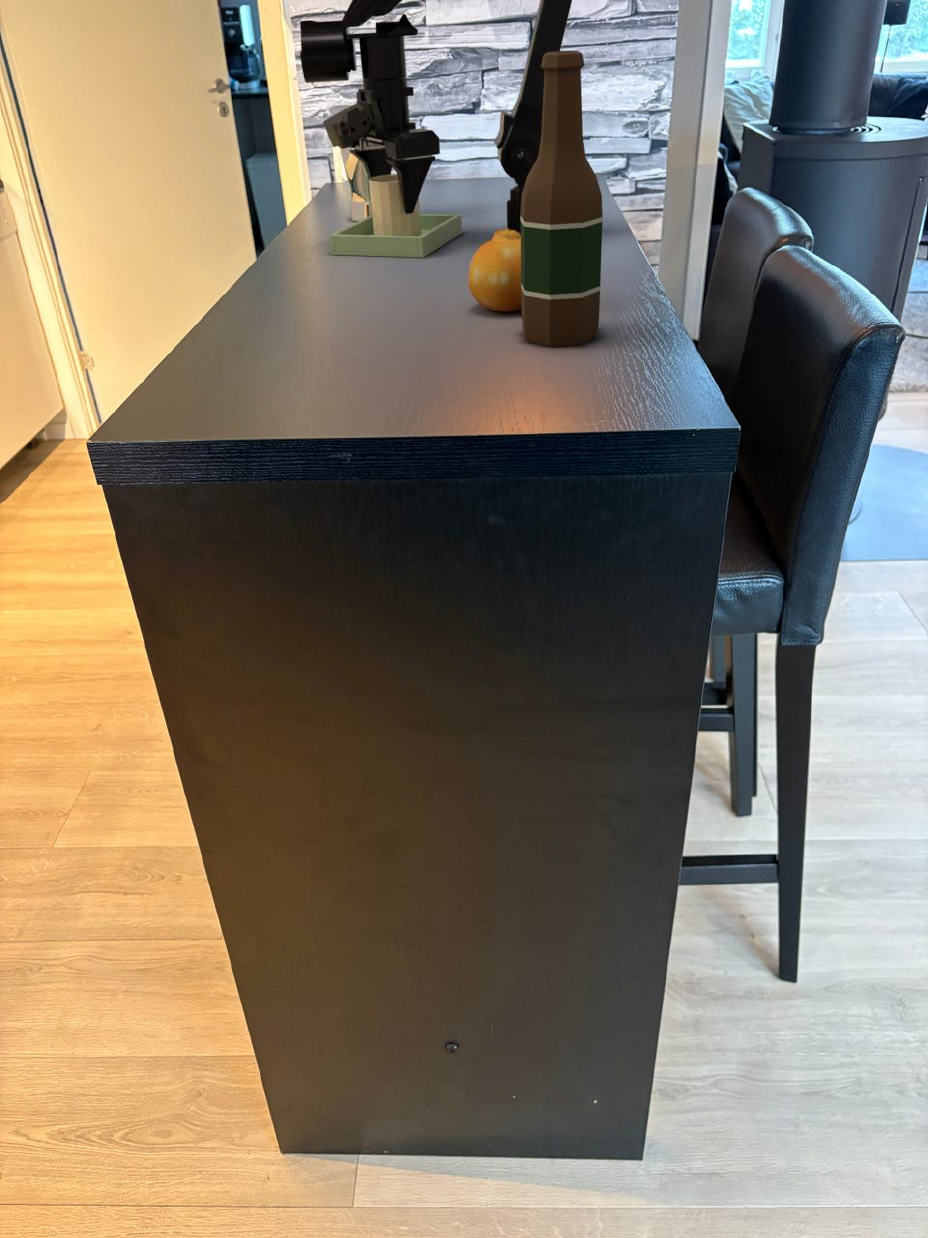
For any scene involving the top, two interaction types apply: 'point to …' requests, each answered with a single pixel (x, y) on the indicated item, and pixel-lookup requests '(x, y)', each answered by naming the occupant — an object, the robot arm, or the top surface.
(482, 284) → the fruit
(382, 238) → the tray
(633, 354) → the top surface
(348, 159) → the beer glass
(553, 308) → the beer bottle
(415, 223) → the cup
